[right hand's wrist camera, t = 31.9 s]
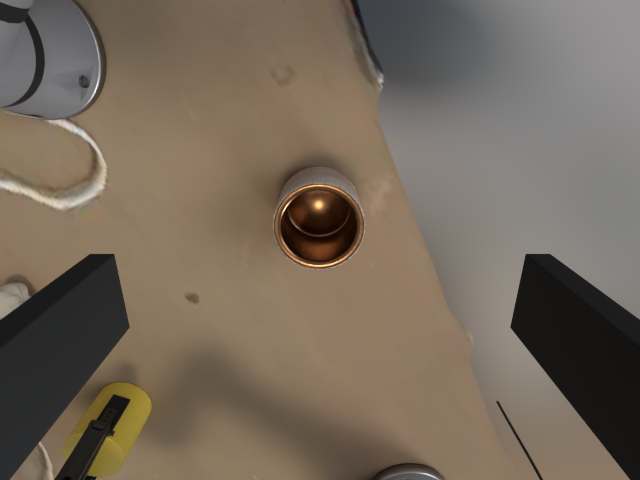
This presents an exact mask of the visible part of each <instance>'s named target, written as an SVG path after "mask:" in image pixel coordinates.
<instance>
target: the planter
mask: <svg viewBox="0 0 640 480" xmlns="http://www.w3.org/2000/svg"><path fill="white" fill-rule="evenodd" d="M364 234H365V218H364V214H363V210H362V207H361V204H360V200H359V197H358V193H357V191H356V189H355V187H354V185H353V184H352V182H351V181H350V180H349V179H348V178H347V177H346V176H345V175H344V174H342V173H341V172H339V171H337V170H335V169H332V168H329V167H323V166H315V167H309V168H306V169H303V170H301V171H299V172H298V173H296V174H295V175H293V176H292V177H291V178H290V179H289V180H288V181H287V182H286V184H285V185H284V187H283V189H282V191H281V194H280V197H279V201H278V204H277V207H276V210H275V213H274V217H273V235H274V238H275V241H276V244H277V246H278V247H279V249H280V250H281V252H282V253H283V254H284V255H285V256H286V257H287V258H288V259H289V260H291V261H292V262H294V263H295V264H297V265H299V266H302V267H305V268H308V269H315V270H323V269H330V268H333V267H336V266H339V265H341V264H343V263H344V262H346V261H347V260H349V259H350V258H351V257H352V256H353V255H354V254H355V253H356V252H357V250H358V249H359V247H360V245H361V243H362V241H363V238H364Z"/></svg>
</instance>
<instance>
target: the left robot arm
mask: <svg viewBox="0 0 640 480" xmlns="http://www.w3.org/2000/svg"><path fill="white" fill-rule="evenodd" d="M130 400H131V399H128V398H125V397H122V396H119V395H115V394H113V396H112V397H111V399H110V400H109V402H108V403H107V405H106V406H105V408H104V409H103V411H102V412H101V414H100V415H99V417H98V418H97V420H94V419H92V420H91V422H89V424H88V427H87V428H86V430H85V432H84V433H83V435H82V437H81V438H80V440H79V441H78V443H77V445H76V446H75V448H74V449H73V451H72V453H71V454H70V456H69V458H68V459H67V461H66V462H65V464H64V466H63V467H62V469H61V471H60V472H59V474H58V475H57V477H56V478H55V479H54V480H95V479H96V478H97V477H94V476H89V475H87V474H88V472H89V470H90V468H91V466H92V464H93V462H94V460H95V458H96V456H97V455H98V453H99V451H100V449H101V447H102V445H103V443H104V441H105V439H106V437H107V436H108V437H109V436H112V437H113V436H114V433H115V431H113V429H114V428H115V426H116V424H117V423H118V421H119V419H120V418H121V416H122V414H123V413H124V411H125V409H126V408H127V406H128V404H129V403H130ZM496 403H497V404H498V406H499V408H500V410H501V412H502V414H503V415H504V417H505V419H506V421H507V422H508V424H509V426H510V428H511V429H512V431H513V433H514V435H515V436H516V438H517V440H518V442H519V443H520V445H521V447H522V449H523V450H524V452H525V454H526V456H527V457H528V459H529V461H530V463H531V465H532V466H533V468H534V470H535V472H536V474H537V476H538V477H539V479H540V480H543V478H542V477H541V475H540V473H539V471H538V469H537V467H536V466H535V464H534V462H533V460H532V459H531V457H530V455H529V453H528V452H527V450H526V448H525V446H524V445H523V443H522V441H521V440H520V438H519V436H518V435H517V433H516V431H515V429H514V428H513V426H512V424H511V422H510V421H509V419H508V417H507V415H506V414H505V412H504V410H503V408H502V407H501V405H500V403H499V401H496ZM373 480H445V479H444V478H443V477H442V476H441V475H440V474H439V473H438V472H437V471H435V470H433V469H431V468H429V467H426V466H422V465H416V464H405V465H399V466H395V467H391V468H389V469H387V470H385V471H383V472H381V473H380V474H378V475H377V476H376V477H375V478H374V479H373Z"/></svg>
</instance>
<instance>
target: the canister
mask: <svg viewBox="0 0 640 480" xmlns="http://www.w3.org/2000/svg"><path fill="white" fill-rule="evenodd" d="M113 394H115V395H119V396H122V397H125V398H128V399H131V400H130V403H129V404H128V406H127V408H126V409H125V411H124V413H123V414H122V416H121V418H120V419H119V421H118V423H117V424H116V426H115V428H114V429H113V431H115V433H114V436H113V437H112V436H109V437H108V436H107V437H106V439H105V441H104V443H103V445H102V447H101V449H100V451H99V453H98V455H97V456H96V458H95V460H94V462H93V464H92V466H91V468H90V470H89V472H88V474H87V475H89V476H94V477H105V476H109V475H112V474H114V473H116V472H118V471H119V470H120V469H121V468H122V466H123V464H124V462H125V460H126V458H127V456H128V455H129V453H130V451H131V449H132V447H133V445H134V443H135V441H136V439H137V437H138V435H139V433H140V431H141V430H142V428H143V426H144V424H145V422H146V420H147V418H148V416H149V414H150V412H151V409H152V404H151V400H150V398H149V396H148V395H147V394H146V392H145V391H143V390H142V389H141V388H139V387H138V386H136V385H133V384H130V383H125V382H116V383H112V384H109V385H107V386H105V387H104V388H103V389H102V390H101V391H100V393H99V394H98V396H97V397H96V398H95V400H94V401H93V403H92V404H91V405H90V407H89V408H88V410H87V411H86V412H85V414H84V415H83V417H82V418H81V419H80V421H79V422H78V423H77V425H76V426H75V428H74V429H73V430H72V432H71V433H70V435H69V436H68V437H67V439H66V440H65V442H64V443H63V446H62V454H63V457H64V459H65V461H67V459H68V458H69V456H70V454H71V453H72V451H73V449H74V448H75V446H76V445H77V443H78V441H79V440H80V438H81V437H82V435H83V433H84V432H85V430H86V428H87V427H88V424H89V422H91V420H92V419H94V420H97V418H98V417H99V415H100V414H101V412H102V411H103V409H104V408H105V406H106V405H107V403H108V402H109V400H110V399H111V397H112V396H113Z"/></svg>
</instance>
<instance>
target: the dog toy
mask: <svg viewBox="0 0 640 480" xmlns="http://www.w3.org/2000/svg"><path fill="white" fill-rule="evenodd" d="M29 298H31V296H30V295H29V293H28V288H27V286H26V285H24V284H22V283H8V284H5V285H2V286H0V320H1V319H2V318H3V317H5V316H6V315H8V314H9V313H10V312H12V311H13V310H14V309H16V308H17V307H18V306H20V305H21V304H23V303H24V302H25V301H27V300H28V299H29Z"/></svg>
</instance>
